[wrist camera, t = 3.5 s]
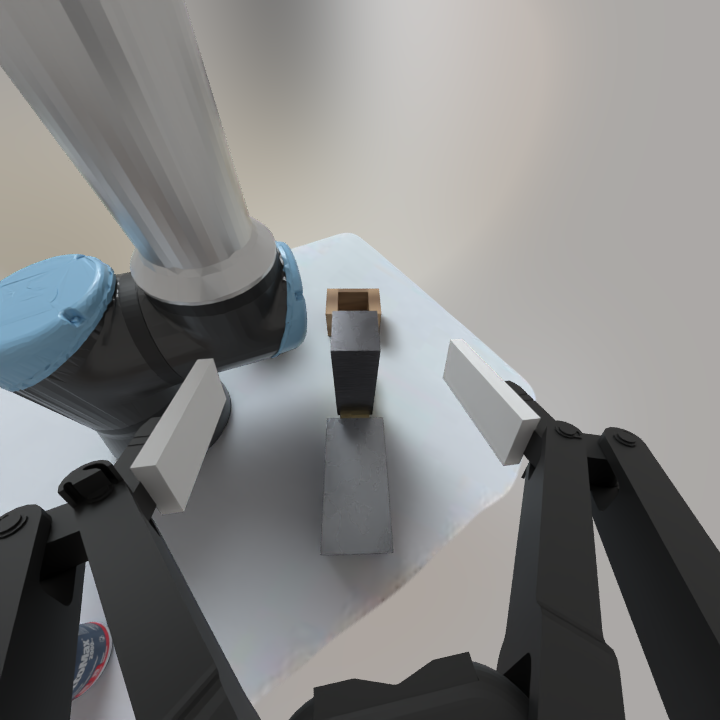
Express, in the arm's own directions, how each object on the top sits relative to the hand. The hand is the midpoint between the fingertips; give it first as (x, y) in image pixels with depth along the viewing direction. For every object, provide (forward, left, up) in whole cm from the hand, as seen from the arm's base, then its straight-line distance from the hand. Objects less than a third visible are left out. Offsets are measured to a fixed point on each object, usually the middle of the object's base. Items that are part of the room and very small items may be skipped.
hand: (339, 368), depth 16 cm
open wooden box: (-8, +25, -25) cm, 36 cm away
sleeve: (+2, -1, -25) cm, 25 cm away
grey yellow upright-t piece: (-1, +5, -24) cm, 25 cm away
